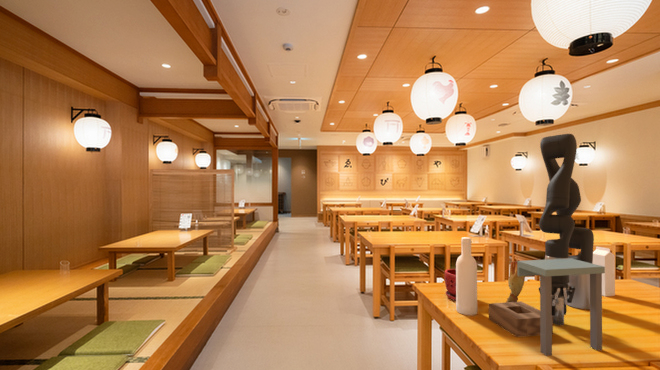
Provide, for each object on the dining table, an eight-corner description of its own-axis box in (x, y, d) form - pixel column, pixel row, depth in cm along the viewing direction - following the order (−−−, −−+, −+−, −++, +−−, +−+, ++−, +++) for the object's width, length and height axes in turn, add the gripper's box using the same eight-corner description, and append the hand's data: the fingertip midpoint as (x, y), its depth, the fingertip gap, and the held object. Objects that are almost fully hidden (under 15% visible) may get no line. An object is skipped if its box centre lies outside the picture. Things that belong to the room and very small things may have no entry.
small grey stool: (571, 333, 105) (571, 258, 105) (605, 350, 94) (604, 266, 94) (517, 338, 102) (517, 260, 102) (546, 356, 91) (545, 269, 91)
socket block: (521, 316, 119) (521, 301, 119) (552, 333, 105) (552, 316, 105) (488, 319, 116) (488, 303, 116) (516, 337, 103) (516, 319, 103)
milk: (601, 291, 147) (601, 245, 148) (615, 295, 141) (615, 248, 142) (591, 292, 146) (591, 246, 146) (605, 296, 140) (605, 248, 140)
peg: (557, 320, 116) (556, 293, 116) (566, 325, 112) (566, 297, 112) (547, 321, 115) (547, 294, 115) (557, 325, 111) (557, 298, 111)
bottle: (476, 317, 118) (475, 240, 118) (454, 312, 122) (454, 238, 123) (478, 310, 125) (478, 237, 125) (457, 306, 129) (457, 235, 129)
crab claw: (526, 312, 122) (526, 263, 123) (516, 314, 121) (516, 264, 121) (511, 306, 129) (511, 259, 129) (502, 307, 127) (501, 260, 127)
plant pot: (466, 306, 129) (466, 278, 129) (439, 297, 140) (438, 271, 140) (481, 299, 137) (481, 272, 137) (454, 291, 148) (454, 266, 148)
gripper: (564, 264, 118) (564, 309, 118) (531, 266, 116) (532, 311, 116) (582, 270, 111) (583, 317, 111) (549, 272, 109) (549, 320, 108)
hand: (557, 314), depth 113 cm, fingers closed on peg, 4 cm apart
